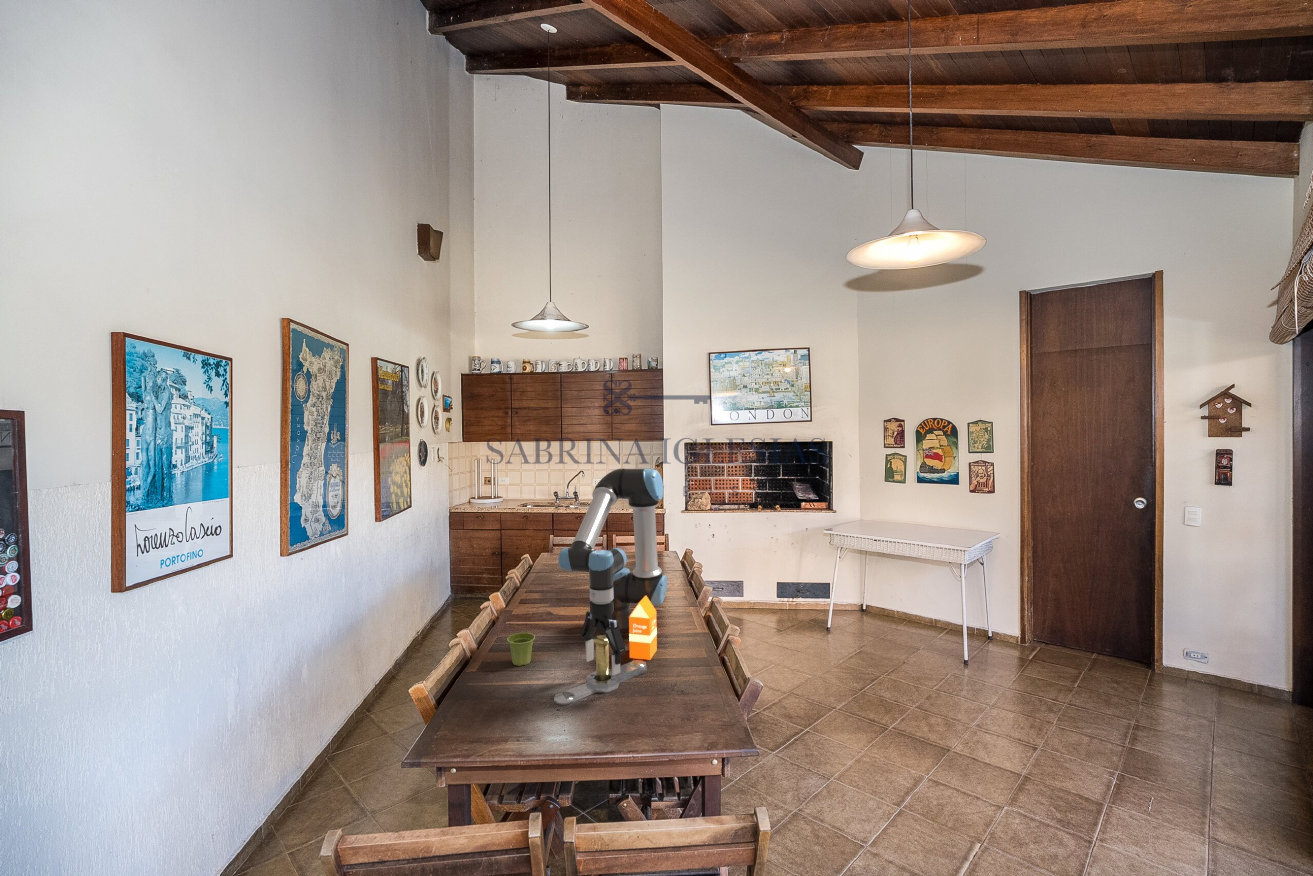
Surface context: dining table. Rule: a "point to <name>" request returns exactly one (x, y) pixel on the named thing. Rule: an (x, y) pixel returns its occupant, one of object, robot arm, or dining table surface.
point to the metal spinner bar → (601, 683)
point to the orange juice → (643, 630)
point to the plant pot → (521, 648)
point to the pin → (602, 658)
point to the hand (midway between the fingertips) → (602, 666)
